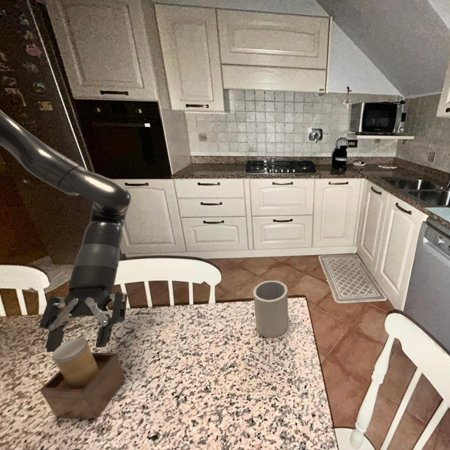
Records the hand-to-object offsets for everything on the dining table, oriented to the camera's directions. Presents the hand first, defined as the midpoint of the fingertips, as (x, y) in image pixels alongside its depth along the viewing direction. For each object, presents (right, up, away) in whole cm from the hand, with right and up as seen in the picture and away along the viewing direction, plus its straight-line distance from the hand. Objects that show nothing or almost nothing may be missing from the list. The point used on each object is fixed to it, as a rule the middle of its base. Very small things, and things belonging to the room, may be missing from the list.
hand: (77, 349), depth 47 cm
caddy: (0, -12, +4) cm, 12 cm away
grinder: (0, -6, +2) cm, 7 cm away
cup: (+36, -5, +23) cm, 42 cm away
